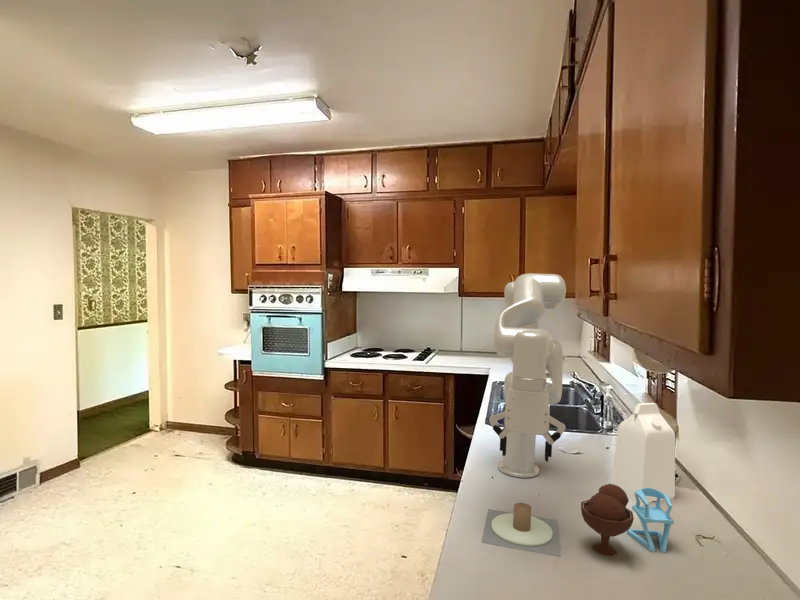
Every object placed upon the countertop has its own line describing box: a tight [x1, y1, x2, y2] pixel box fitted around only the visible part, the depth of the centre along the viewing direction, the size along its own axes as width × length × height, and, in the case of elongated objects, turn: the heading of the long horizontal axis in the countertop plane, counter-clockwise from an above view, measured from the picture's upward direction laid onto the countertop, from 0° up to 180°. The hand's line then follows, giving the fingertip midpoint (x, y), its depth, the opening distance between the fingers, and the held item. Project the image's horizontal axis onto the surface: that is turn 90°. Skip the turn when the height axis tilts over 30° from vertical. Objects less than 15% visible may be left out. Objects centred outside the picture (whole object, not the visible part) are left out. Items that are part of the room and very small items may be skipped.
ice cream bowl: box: [580, 483, 635, 557], centre depth 107 cm, size 11×11×15 cm
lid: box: [491, 502, 553, 547], centre depth 114 cm, size 14×14×6 cm
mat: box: [480, 508, 562, 558], centre depth 114 cm, size 17×17×1 cm
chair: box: [626, 488, 675, 554], centre depth 112 cm, size 8×8×12 cm
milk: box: [610, 402, 676, 505], centre depth 139 cm, size 12×12×26 cm
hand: (525, 456), depth 113 cm, fingers open, 9 cm apart
